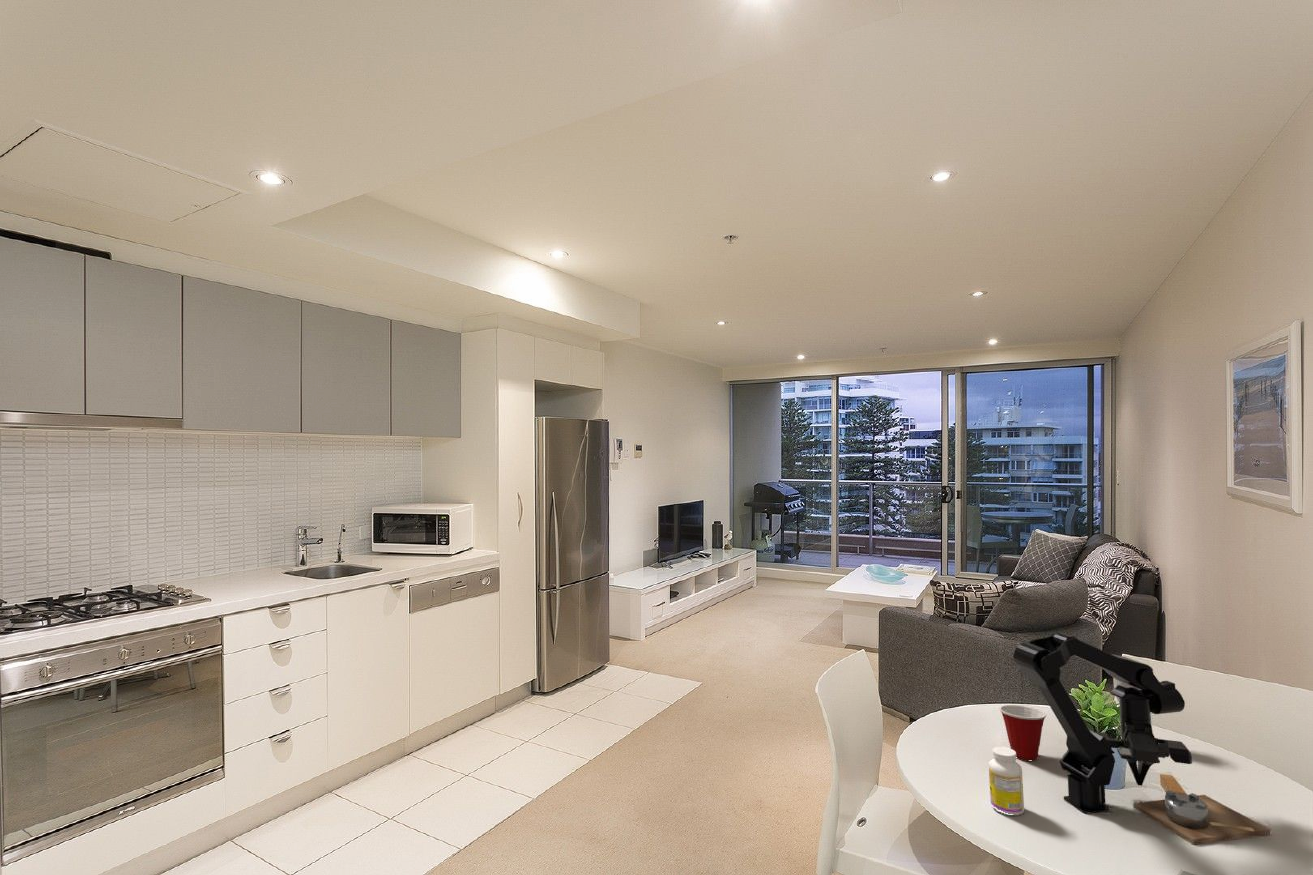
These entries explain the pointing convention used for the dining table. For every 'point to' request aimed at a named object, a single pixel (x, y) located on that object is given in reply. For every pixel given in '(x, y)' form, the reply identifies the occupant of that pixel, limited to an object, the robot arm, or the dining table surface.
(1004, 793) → the supplement bottle
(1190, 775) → the dining table surface
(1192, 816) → the wood-handled metal tool
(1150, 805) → the base plate
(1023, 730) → the plastic cup
